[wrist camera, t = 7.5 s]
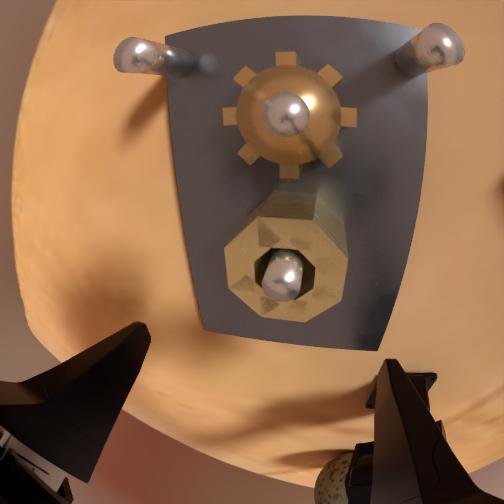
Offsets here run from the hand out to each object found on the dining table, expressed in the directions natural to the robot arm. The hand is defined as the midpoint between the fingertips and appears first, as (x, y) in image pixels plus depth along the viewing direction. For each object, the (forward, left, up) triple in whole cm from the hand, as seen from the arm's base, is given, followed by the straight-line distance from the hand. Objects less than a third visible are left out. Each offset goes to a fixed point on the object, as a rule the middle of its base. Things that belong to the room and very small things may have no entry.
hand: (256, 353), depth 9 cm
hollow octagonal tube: (0, 0, -9) cm, 9 cm away
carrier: (+2, 0, -10) cm, 10 cm away
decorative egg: (-39, -13, -10) cm, 42 cm away
